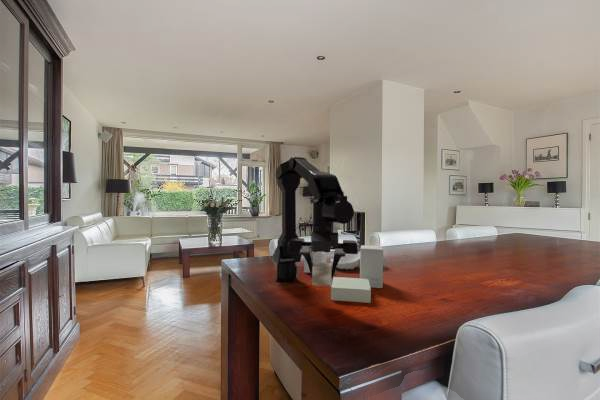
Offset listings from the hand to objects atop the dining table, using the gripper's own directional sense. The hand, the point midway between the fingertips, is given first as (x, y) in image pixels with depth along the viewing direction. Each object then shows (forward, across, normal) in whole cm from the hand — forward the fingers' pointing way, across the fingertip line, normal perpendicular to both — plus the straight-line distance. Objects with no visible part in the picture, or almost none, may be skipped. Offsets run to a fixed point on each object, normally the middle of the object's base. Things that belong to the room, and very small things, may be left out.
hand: (322, 277), depth 81 cm
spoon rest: (+8, +12, +44) cm, 47 cm away
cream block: (+2, 0, 0) cm, 2 cm away
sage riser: (+8, +8, +9) cm, 14 cm away
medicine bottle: (+8, -5, +34) cm, 35 cm away
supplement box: (+8, +15, +21) cm, 27 cm away
